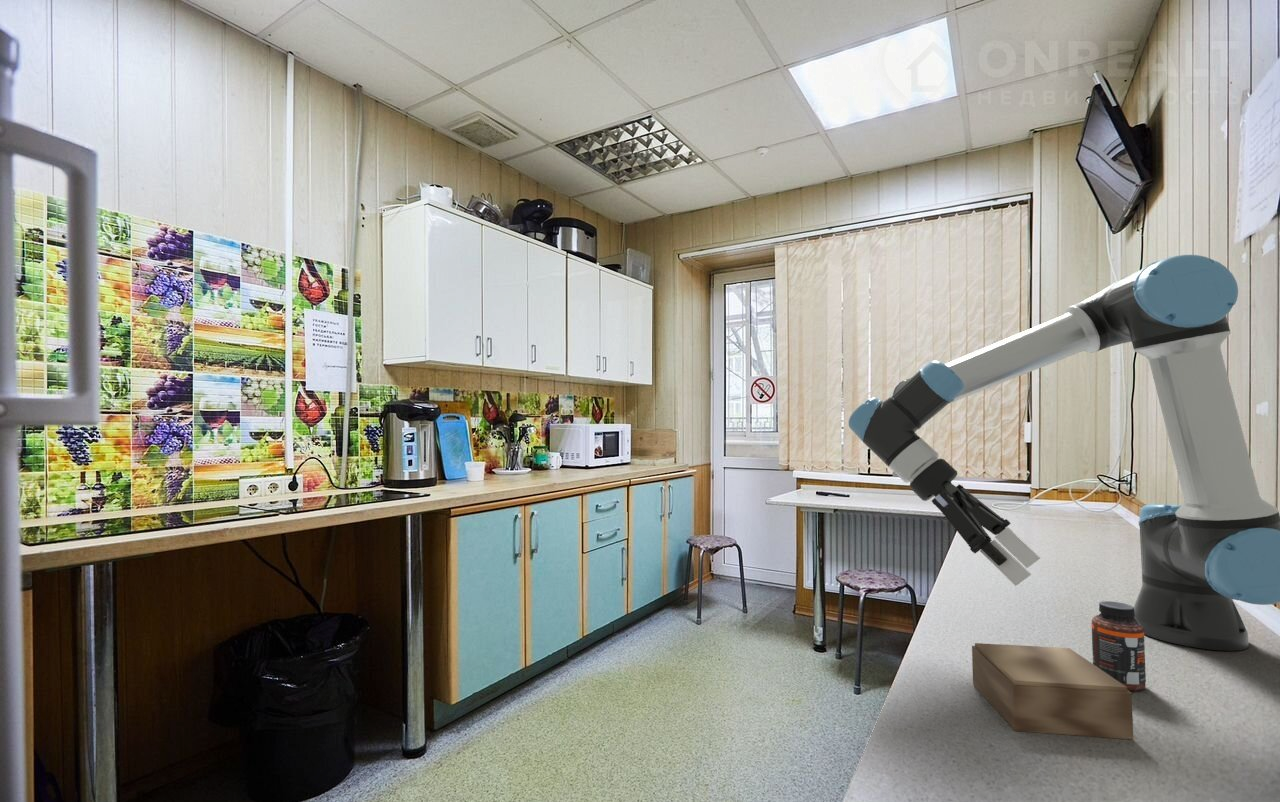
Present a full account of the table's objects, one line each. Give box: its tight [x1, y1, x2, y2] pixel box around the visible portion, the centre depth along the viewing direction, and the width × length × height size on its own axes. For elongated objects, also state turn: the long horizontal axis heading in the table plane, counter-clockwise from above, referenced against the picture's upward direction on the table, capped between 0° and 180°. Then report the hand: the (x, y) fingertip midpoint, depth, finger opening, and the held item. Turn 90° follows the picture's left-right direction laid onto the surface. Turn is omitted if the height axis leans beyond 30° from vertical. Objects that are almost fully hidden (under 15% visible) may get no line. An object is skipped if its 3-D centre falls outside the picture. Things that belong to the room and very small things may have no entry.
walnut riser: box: [971, 642, 1134, 740], centre depth 77 cm, size 13×13×6 cm
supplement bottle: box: [1091, 600, 1147, 692], centre depth 85 cm, size 6×6×11 cm
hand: (1029, 571), depth 92 cm, fingers open, 13 cm apart
